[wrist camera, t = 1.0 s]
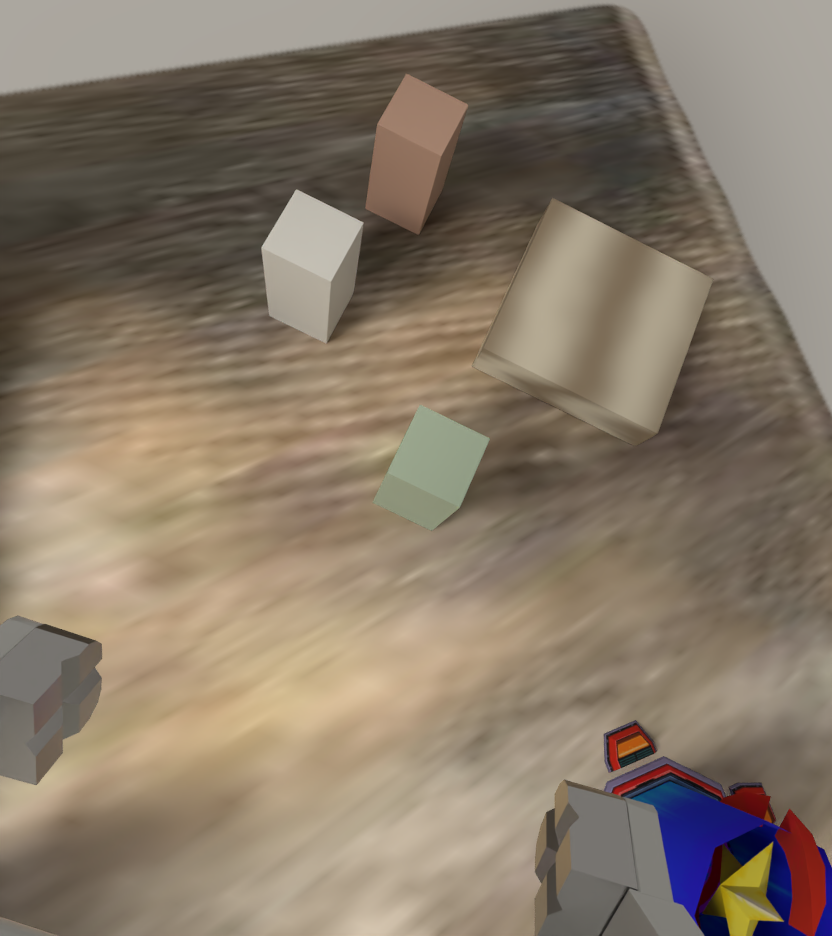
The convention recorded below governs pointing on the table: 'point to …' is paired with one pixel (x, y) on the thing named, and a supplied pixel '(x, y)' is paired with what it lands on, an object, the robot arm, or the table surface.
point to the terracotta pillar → (413, 153)
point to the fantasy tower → (726, 847)
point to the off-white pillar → (311, 265)
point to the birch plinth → (595, 324)
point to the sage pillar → (431, 469)
